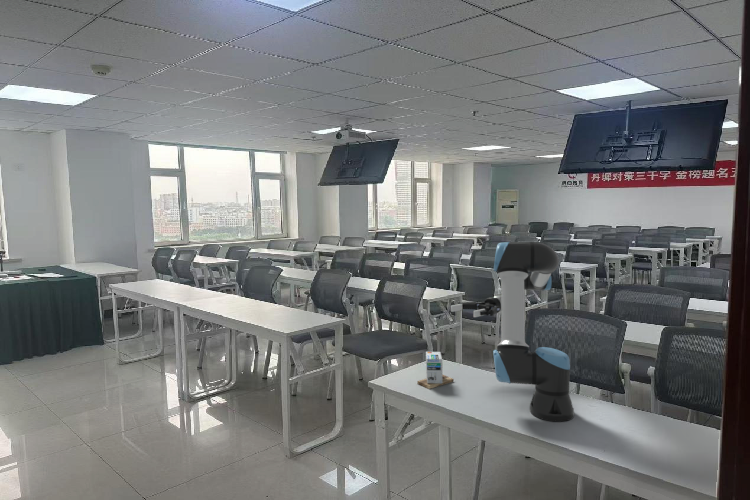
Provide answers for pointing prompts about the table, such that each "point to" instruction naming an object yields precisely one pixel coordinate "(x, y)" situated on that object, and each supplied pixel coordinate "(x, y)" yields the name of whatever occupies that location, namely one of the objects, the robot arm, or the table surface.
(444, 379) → the subfloor panel
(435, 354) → the light bulb box
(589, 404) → the table surface
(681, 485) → the table surface
